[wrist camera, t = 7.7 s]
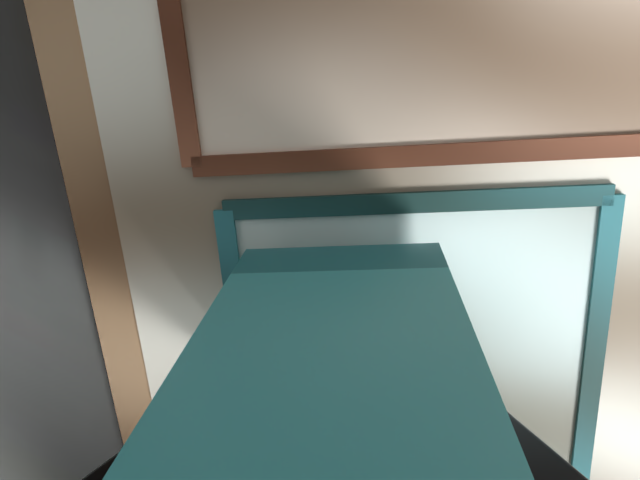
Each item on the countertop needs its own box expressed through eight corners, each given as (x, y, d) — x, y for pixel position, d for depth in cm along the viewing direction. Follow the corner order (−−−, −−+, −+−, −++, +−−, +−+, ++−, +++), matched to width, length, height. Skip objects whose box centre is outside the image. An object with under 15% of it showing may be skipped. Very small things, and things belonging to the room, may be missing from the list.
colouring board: (735, 578, 13) (753, 603, 12) (158, 561, 15) (149, 583, 14) (982, -372, 7) (1036, -409, 7) (-16, -238, 9) (-45, -261, 8)
